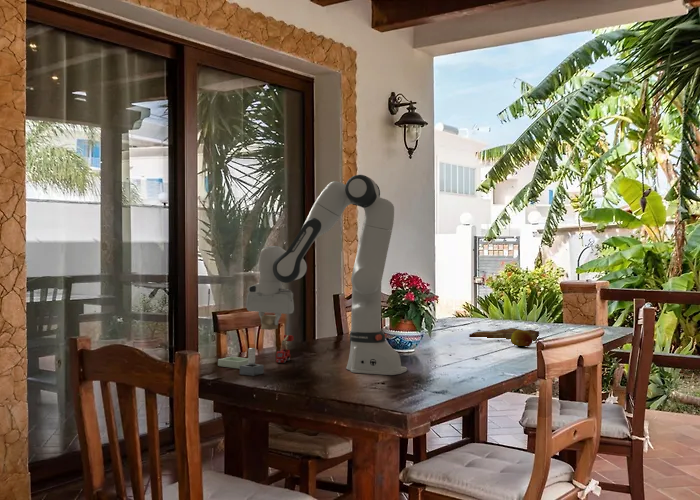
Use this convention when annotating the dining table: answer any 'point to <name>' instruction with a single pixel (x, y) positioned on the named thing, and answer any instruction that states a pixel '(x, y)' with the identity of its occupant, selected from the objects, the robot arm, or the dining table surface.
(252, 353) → the pin
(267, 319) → the block
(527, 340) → the fruit
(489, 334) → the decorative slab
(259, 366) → the socket block
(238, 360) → the tray
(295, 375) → the dining table surface
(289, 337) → the toy fire truck
